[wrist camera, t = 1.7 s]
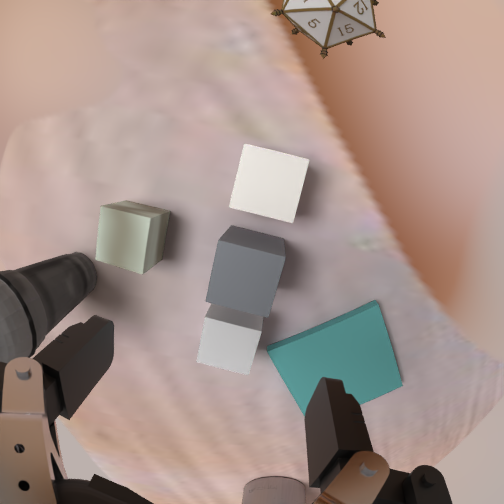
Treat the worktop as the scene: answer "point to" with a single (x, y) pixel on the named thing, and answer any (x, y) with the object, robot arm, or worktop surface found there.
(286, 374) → the teal mat
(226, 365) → the grey block
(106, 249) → the sage block
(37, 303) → the beverage cup
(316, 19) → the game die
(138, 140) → the worktop surface
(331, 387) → the robot arm
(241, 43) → the worktop surface
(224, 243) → the charcoal block
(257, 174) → the offwhite block
